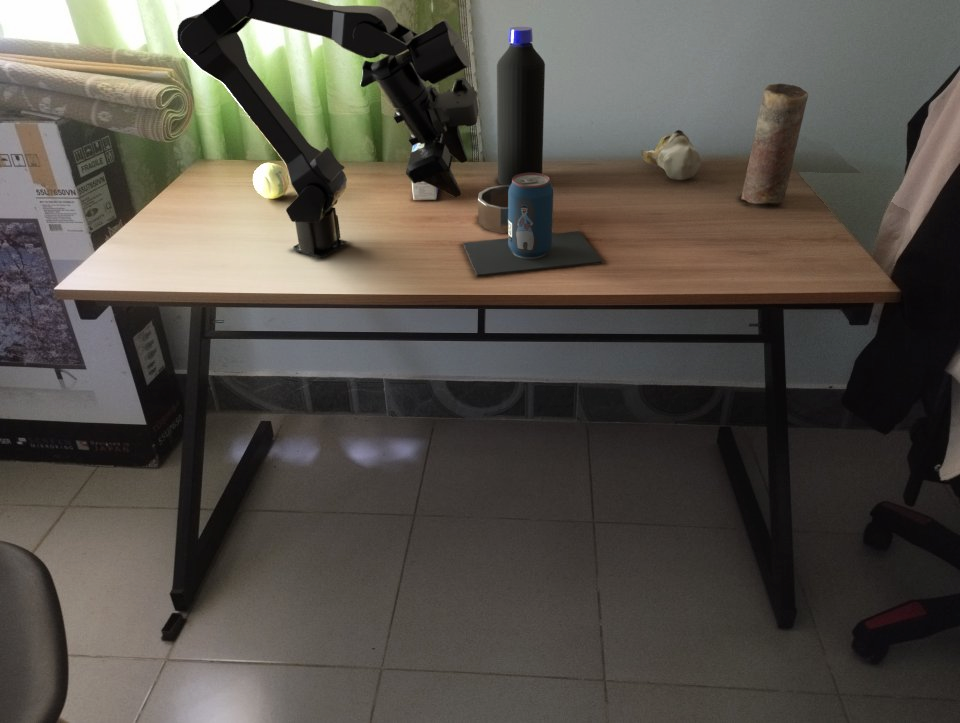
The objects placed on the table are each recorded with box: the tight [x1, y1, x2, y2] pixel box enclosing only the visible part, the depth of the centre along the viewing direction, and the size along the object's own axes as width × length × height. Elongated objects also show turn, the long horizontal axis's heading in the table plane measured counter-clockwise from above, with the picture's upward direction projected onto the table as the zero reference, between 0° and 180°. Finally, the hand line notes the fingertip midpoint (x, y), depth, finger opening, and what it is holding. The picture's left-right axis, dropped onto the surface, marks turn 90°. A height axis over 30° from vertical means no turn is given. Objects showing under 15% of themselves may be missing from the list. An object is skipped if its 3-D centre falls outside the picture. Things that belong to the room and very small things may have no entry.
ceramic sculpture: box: [640, 129, 703, 181], centre depth 148 cm, size 11×9×15 cm
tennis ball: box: [252, 162, 290, 199], centre depth 141 cm, size 6×7×7 cm
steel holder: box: [477, 184, 510, 234], centre depth 130 cm, size 11×11×4 cm
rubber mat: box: [462, 230, 603, 278], centre depth 119 cm, size 20×12×1 cm, turn 101°
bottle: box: [496, 26, 546, 185], centre depth 140 cm, size 9×9×28 cm
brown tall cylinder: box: [740, 83, 809, 206], centre depth 130 cm, size 8×7×20 cm
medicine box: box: [411, 143, 439, 201], centre depth 140 cm, size 8×4×9 cm, turn 179°
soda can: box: [507, 173, 555, 259], centre depth 116 cm, size 7×7×12 cm
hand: (461, 178), depth 117 cm, fingers open, 9 cm apart
